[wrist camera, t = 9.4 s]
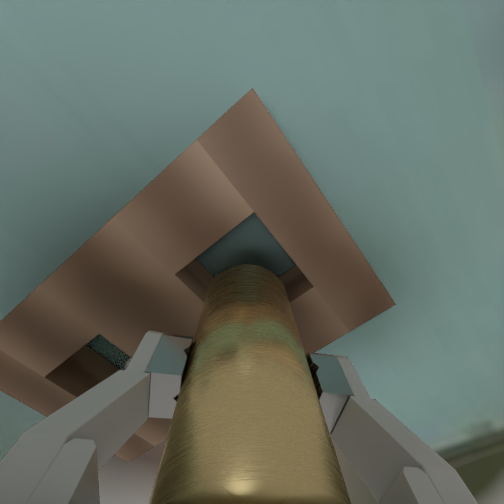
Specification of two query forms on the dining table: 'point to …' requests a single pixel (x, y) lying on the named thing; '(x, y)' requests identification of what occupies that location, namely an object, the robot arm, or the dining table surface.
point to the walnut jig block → (186, 266)
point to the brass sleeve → (248, 406)
